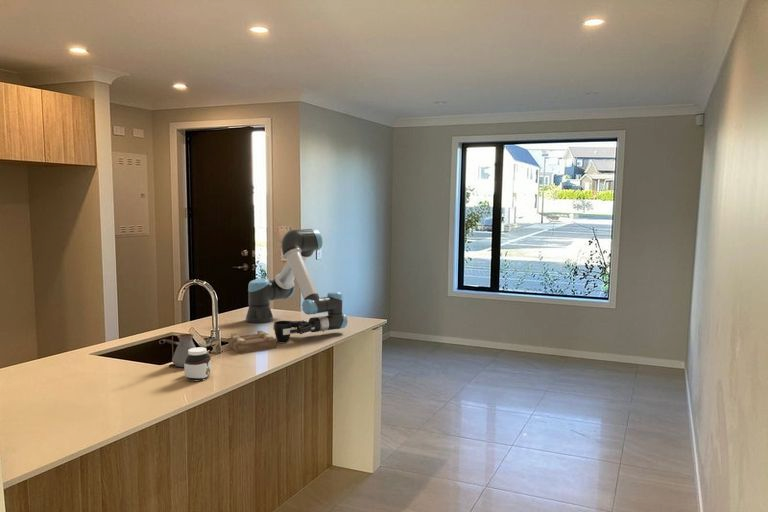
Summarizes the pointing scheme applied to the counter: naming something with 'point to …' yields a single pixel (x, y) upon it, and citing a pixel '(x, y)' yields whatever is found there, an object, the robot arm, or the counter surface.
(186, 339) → the coffee pot
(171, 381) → the counter surface
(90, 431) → the counter surface
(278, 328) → the mug
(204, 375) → the spread jar
